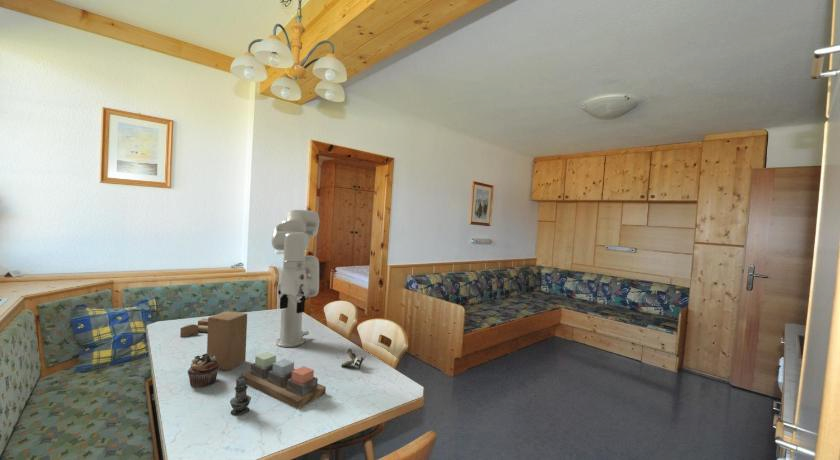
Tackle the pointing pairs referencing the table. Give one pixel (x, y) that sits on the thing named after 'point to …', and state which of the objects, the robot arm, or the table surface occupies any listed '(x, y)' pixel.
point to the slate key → (283, 367)
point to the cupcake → (203, 371)
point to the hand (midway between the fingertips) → (291, 310)
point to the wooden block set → (195, 328)
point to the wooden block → (227, 338)
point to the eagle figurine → (353, 359)
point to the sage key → (265, 360)
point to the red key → (302, 375)
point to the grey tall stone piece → (240, 397)
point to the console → (284, 386)
